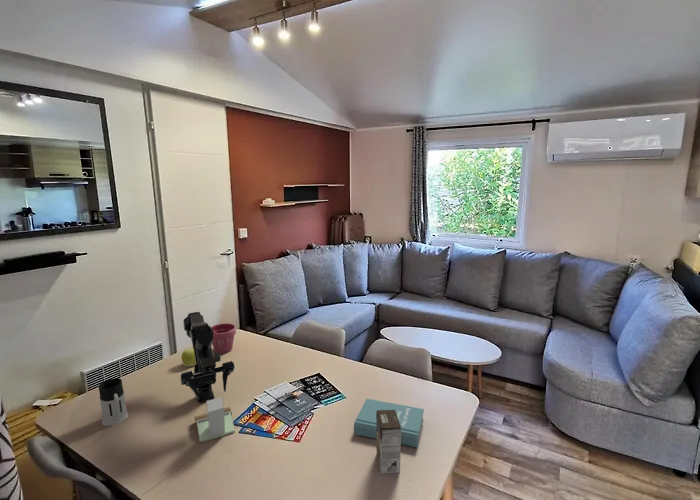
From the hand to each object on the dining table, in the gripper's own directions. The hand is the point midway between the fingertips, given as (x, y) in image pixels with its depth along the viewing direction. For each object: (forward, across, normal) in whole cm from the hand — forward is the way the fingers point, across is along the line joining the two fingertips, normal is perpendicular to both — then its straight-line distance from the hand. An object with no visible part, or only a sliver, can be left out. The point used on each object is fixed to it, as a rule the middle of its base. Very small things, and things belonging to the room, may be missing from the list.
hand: (212, 395), depth 134 cm
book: (+33, +56, -14) cm, 67 cm away
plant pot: (-36, +16, +56) cm, 68 cm away
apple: (-30, -2, +50) cm, 59 cm away
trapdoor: (+10, 0, +7) cm, 12 cm away
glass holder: (-6, -32, +26) cm, 42 cm away
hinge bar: (+6, 0, +13) cm, 14 cm away
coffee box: (+42, +46, -24) cm, 67 cm away
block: (+11, 0, +5) cm, 12 cm away
